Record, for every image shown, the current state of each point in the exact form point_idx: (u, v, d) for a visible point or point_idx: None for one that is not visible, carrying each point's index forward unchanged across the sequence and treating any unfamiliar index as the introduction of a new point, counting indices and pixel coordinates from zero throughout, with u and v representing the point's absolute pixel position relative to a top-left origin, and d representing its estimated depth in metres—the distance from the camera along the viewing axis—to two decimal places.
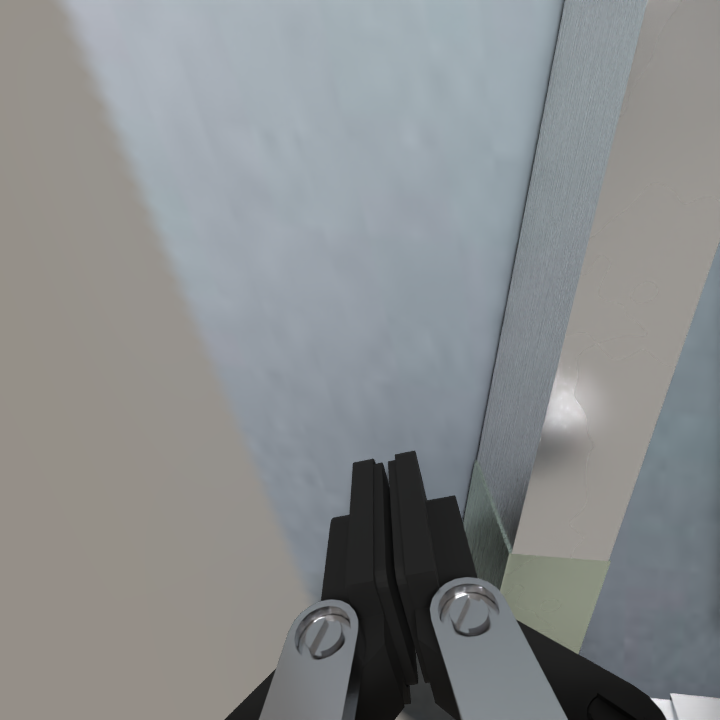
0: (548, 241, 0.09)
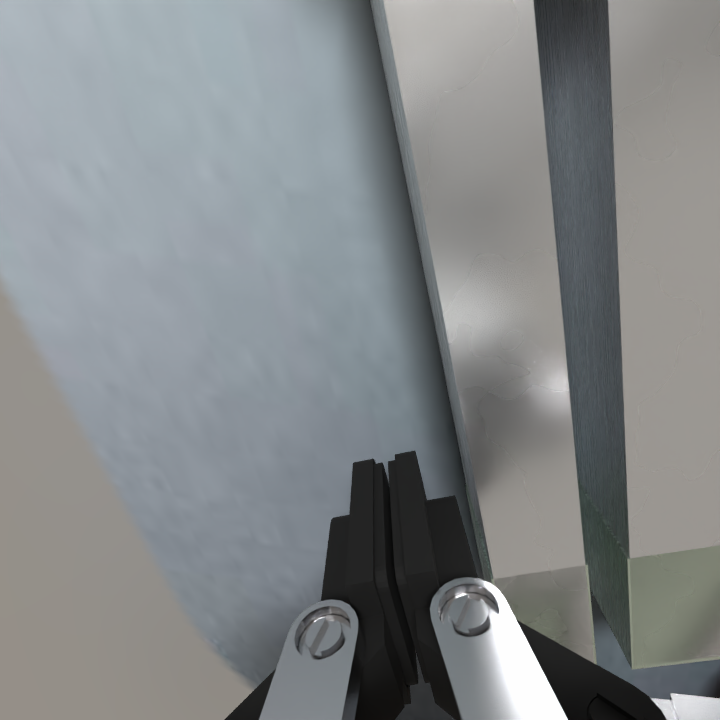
0: (434, 302, 0.10)
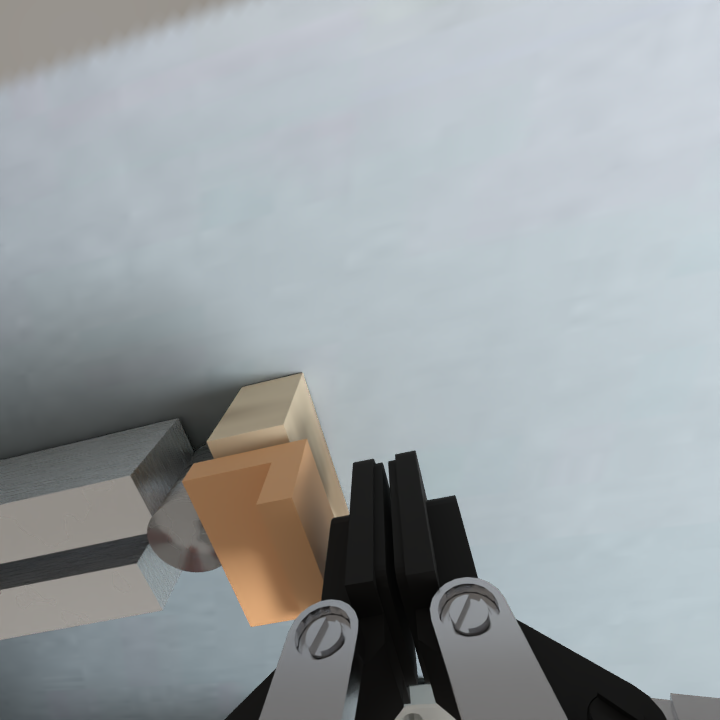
0: None
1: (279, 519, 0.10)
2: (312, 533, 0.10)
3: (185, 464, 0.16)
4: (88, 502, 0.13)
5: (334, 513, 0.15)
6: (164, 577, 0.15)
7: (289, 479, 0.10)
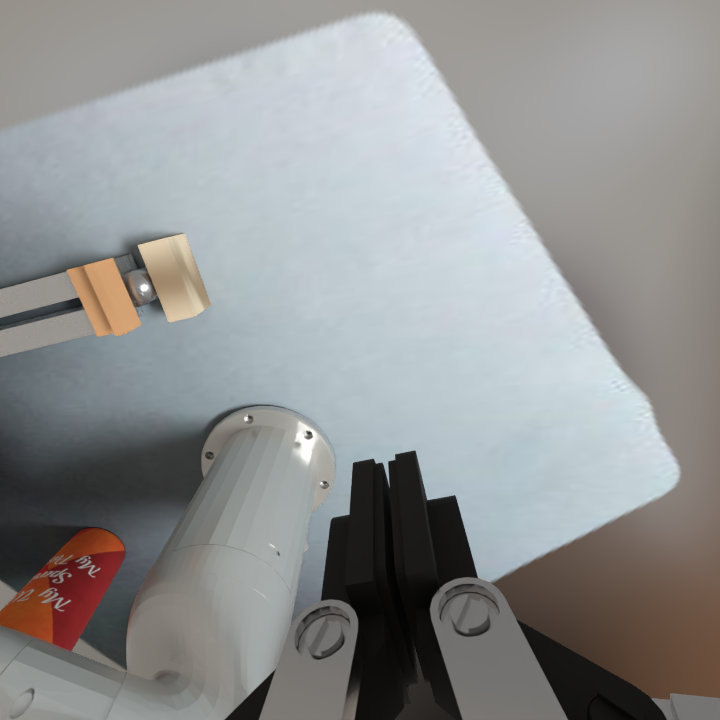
0: None
1: (91, 271, 0.31)
2: (105, 281, 0.32)
3: None
4: None
5: (196, 292, 0.36)
6: None
7: None
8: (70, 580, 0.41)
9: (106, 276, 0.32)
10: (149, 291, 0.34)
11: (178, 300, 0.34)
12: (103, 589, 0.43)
